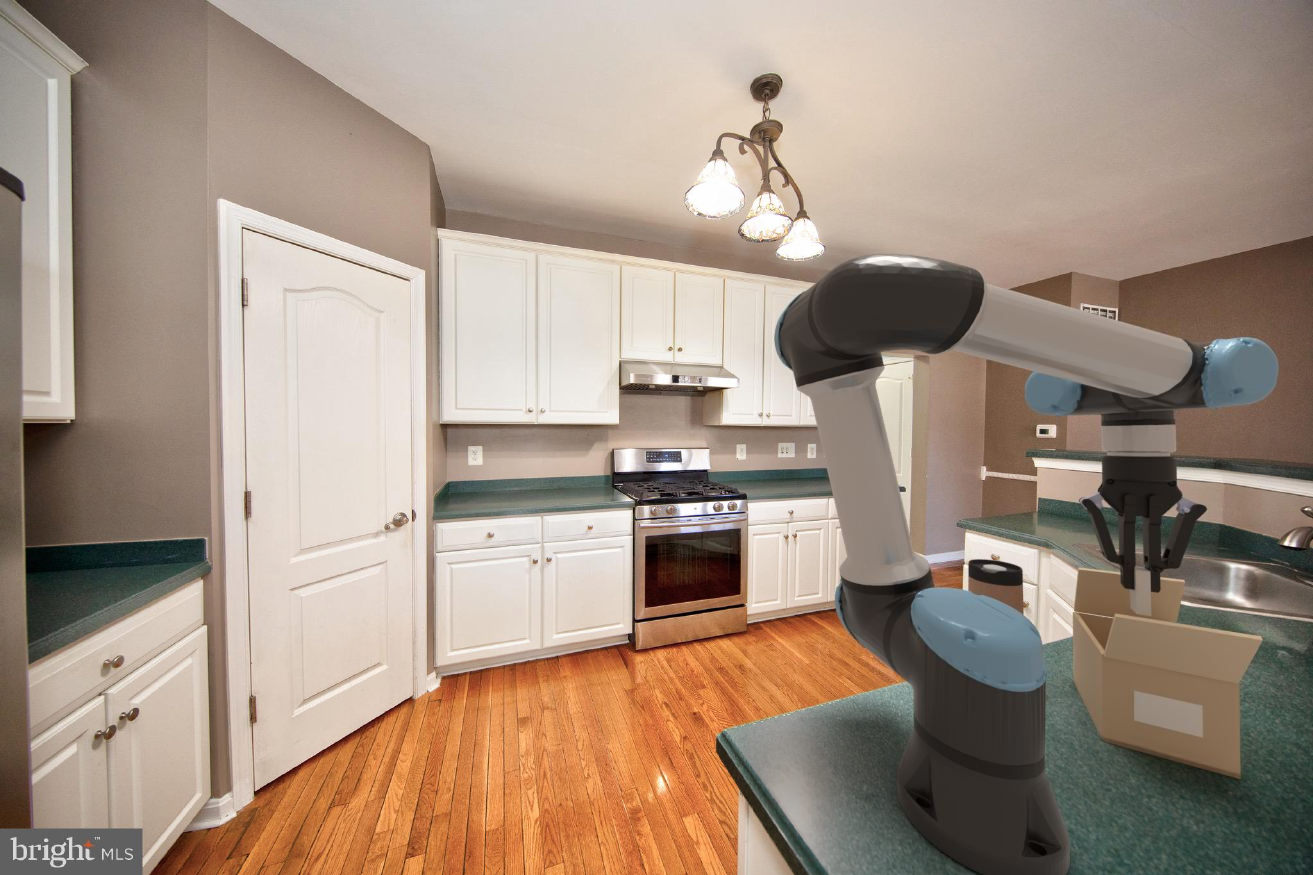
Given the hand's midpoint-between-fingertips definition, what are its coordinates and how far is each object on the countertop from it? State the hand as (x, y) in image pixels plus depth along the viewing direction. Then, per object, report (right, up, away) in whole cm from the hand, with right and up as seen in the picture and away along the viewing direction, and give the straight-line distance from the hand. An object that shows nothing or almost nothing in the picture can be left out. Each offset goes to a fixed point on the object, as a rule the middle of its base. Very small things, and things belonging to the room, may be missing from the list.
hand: (1140, 611), depth 65 cm
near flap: (-7, 0, -10) cm, 13 cm away
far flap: (+3, 0, +5) cm, 6 cm away
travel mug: (-14, -16, +10) cm, 24 cm away
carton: (-1, -16, -1) cm, 16 cm away
